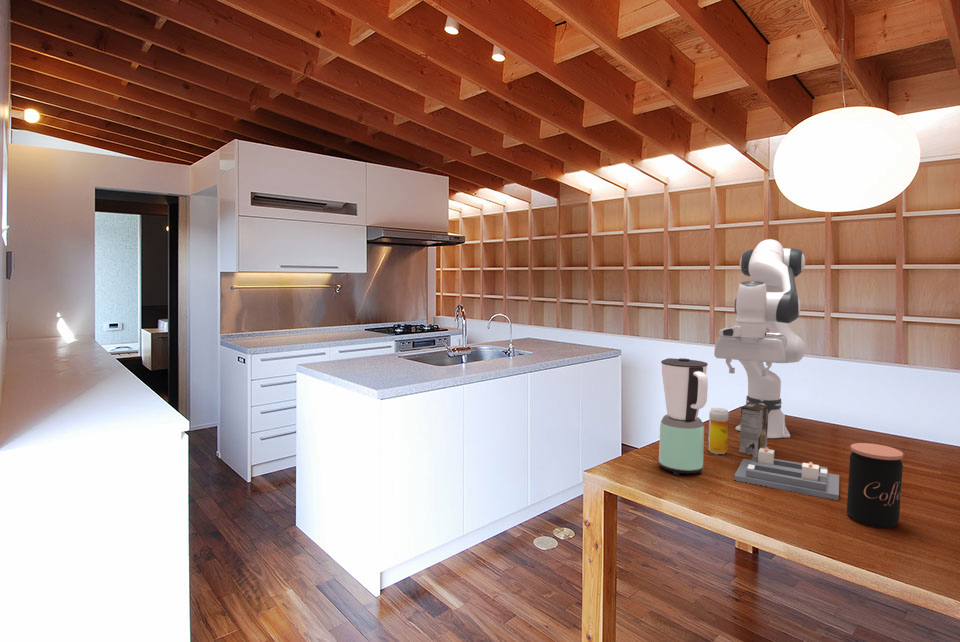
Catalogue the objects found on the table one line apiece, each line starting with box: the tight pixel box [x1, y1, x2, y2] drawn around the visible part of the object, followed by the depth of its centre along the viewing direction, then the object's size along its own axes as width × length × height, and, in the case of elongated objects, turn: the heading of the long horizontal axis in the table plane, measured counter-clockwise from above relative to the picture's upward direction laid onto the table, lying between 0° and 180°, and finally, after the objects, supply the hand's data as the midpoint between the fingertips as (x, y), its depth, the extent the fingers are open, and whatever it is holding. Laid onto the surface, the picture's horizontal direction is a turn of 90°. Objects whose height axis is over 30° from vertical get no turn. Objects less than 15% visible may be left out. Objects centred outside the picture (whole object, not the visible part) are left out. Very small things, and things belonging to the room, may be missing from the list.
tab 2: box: [801, 461, 820, 481], centre depth 154 cm, size 4×4×6 cm
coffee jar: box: [846, 442, 904, 529], centre depth 135 cm, size 11×11×18 cm
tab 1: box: [758, 446, 775, 465], centre depth 168 cm, size 4×4×6 cm
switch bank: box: [733, 455, 840, 501], centre depth 161 cm, size 18×26×4 cm
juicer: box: [658, 357, 709, 476], centre depth 168 cm, size 19×13×35 cm
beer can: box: [707, 407, 730, 455], centre depth 186 cm, size 6×6×15 cm
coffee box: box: [739, 403, 768, 456], centre depth 187 cm, size 9×6×16 cm
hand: (747, 374), depth 173 cm, fingers open, 8 cm apart
